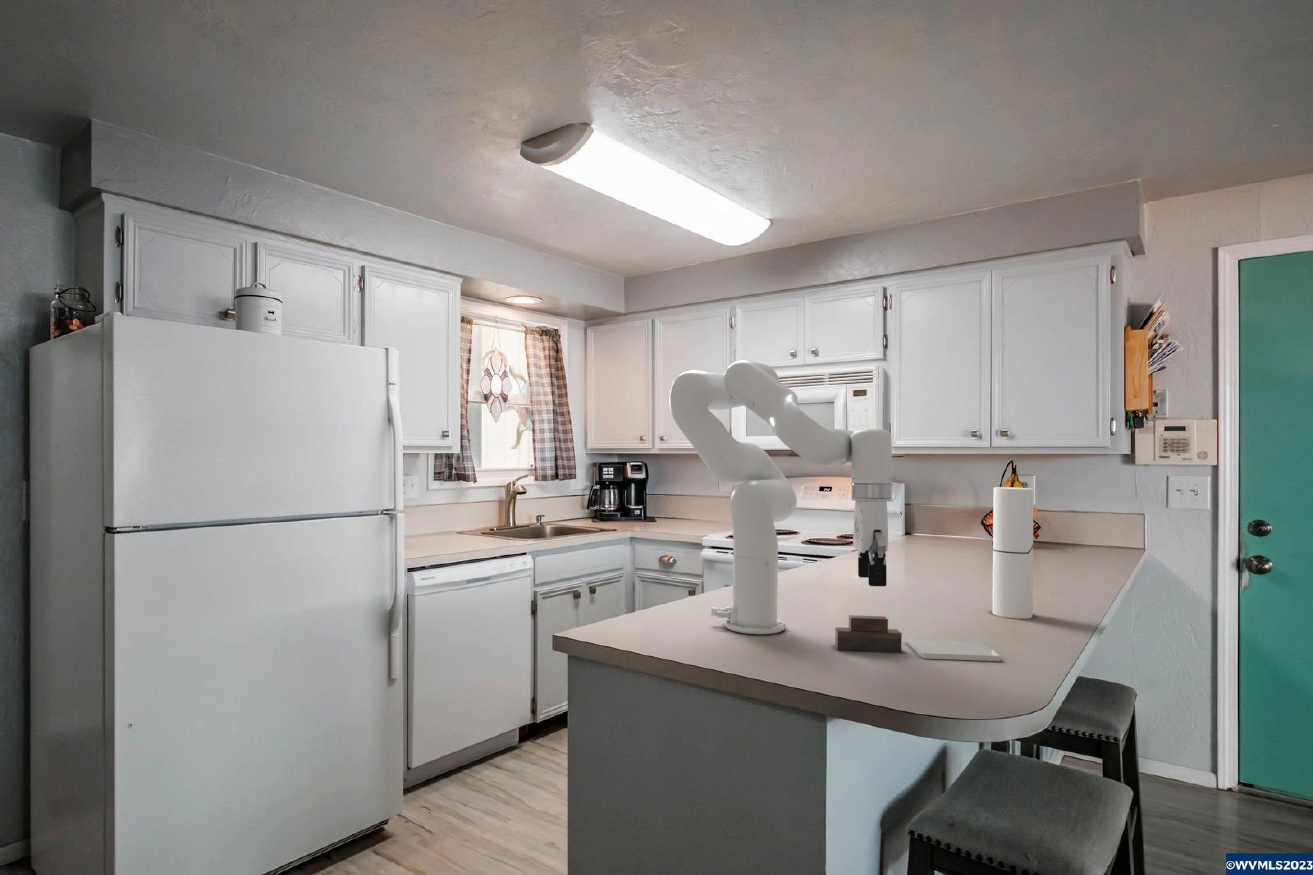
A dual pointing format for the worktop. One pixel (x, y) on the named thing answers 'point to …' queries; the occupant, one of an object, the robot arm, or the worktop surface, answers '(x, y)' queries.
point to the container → (1013, 552)
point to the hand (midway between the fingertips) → (871, 581)
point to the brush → (868, 635)
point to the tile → (953, 650)
